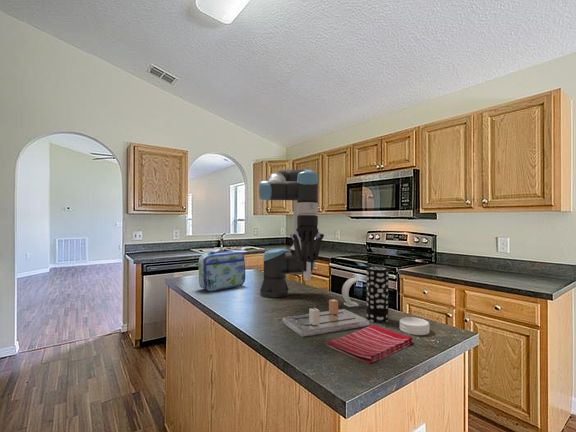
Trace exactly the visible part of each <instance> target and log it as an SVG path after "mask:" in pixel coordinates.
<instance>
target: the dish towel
mask: <svg viewBox="0 0 576 432" xmlns="http://www.w3.org/2000/svg"><path fill="white" fill-rule="evenodd" d="M413 344H414V342H413V338H412V336H410V335H409V336H408V335H405V334H404V335H403V334H400V333H398V332H395V331H392V330H389V329H387V328H383V327H380V326H378V325H374V324H373V325H372V324H371V325H369V326H365V327H363V328H362V329H359V330H356V331H354V332H352V333H348V334H346V335H343V336H341V337H338V338H335V339H330V340H328V341H326V342H325V345H326V346H327V347H328V348H331V349H333V350H335V351H338V352H340V353H342V354H344V355H347V356H349V357H352V358H354V359H356V360H359V361H361V362H363V363H366V364H368V365H370V364H372V363H375V362H378V361H380V360H382V359H385V358H387V357H389V356H391V355H392V354H393V355H394V354H395V353H397V352H399V351H401V350H403V349H405V348H407V347H409V346H411V345H413Z"/></svg>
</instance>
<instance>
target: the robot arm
mask: <svg viewBox="0 0 576 432" xmlns="http://www.w3.org/2000/svg"><path fill="white" fill-rule="evenodd" d="M318 175H319V174H318V173H317V172H316V171H315V172H314V171H313V170H311V169H280V170H277V171H273V172H272V173H270V174H269V175H268V176H267V178H266V180H262V181H260V182H259V185H258V188H259V189H258V196H259V200H261V201H267V202H268V201H293V216H292V217H293V219H292V221H293V226H292V227H293V228H292V229H293V231H292V234H290V238H291V240H292V246H291V247H290V248H289V249H290V250H289V251H287V249H286V248H276V249H269V250H266V251H265V252H264V253H263V259H262V260H263V279H262V283H261V286H260V288H259V294H260V296H261V297H264V298H265V297H266V298H282V297H287V296H289V295H290V288H289V286H288V281H287V277H286V275H303V281H306V282H311V281H312V280H311V279H312V273H313V272H314V269H315V263H316V261H318V258H319V255H320V249H321V245H322V241H323V239H324V237H325V235H324V233H321V232H320V231H319V227H318V226H319V225H318V224H319V216H318V213H319V201H318V200H319V197H318V196H319V176H318Z"/></svg>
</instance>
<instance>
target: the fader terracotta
mask: <svg viewBox="0 0 576 432" xmlns="http://www.w3.org/2000/svg"><path fill="white" fill-rule="evenodd" d="M338 310H339V300H337V299H335V298H334V299H333V298H332V299H328V311H329V313H331V314H338Z"/></svg>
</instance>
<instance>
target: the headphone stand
mask: <svg viewBox="0 0 576 432" xmlns="http://www.w3.org/2000/svg"><path fill="white" fill-rule="evenodd" d="M357 282H359V279H358V278H354V277H351V278H348V279H346V281H345V282H344V283H343V284H342V288H341V295H342V298H343V299H344V301H345V302H343V305H344V306H346V307H348V308H353V307H359V303H357V302H356V301H351V299H350V296H349V295H350V294H349V291H350V288H351V287H352V285H353V284H355V283H357Z"/></svg>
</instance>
